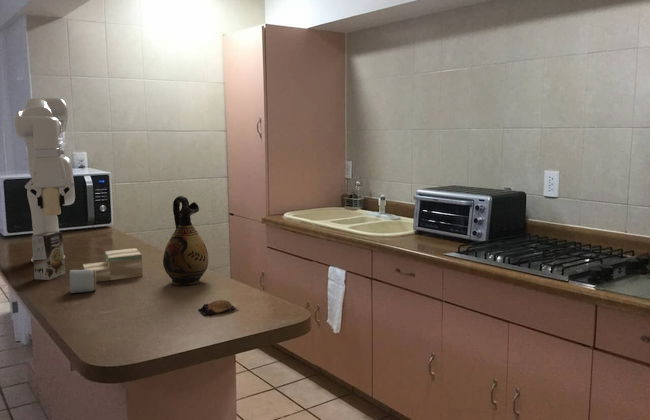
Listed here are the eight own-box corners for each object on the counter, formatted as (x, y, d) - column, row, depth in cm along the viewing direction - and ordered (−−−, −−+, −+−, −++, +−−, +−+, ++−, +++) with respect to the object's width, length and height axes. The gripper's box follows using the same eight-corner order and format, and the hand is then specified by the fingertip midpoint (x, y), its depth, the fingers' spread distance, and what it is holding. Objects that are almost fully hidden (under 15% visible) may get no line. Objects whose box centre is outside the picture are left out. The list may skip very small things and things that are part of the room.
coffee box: (49, 280, 204) (46, 235, 201) (34, 279, 205) (30, 235, 202) (66, 273, 212) (62, 231, 210) (51, 273, 214) (47, 230, 211)
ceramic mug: (97, 293, 187) (95, 270, 186) (70, 296, 184) (68, 272, 183) (96, 285, 197) (95, 263, 196) (70, 288, 194) (69, 266, 193)
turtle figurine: (229, 305, 174) (229, 294, 174) (240, 313, 167) (240, 300, 167) (195, 311, 169) (195, 299, 168) (205, 319, 161) (205, 307, 161)
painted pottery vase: (218, 281, 199) (215, 196, 195) (180, 291, 188) (175, 201, 184) (190, 273, 211) (186, 192, 206) (153, 282, 200) (148, 197, 195)
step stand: (83, 274, 211) (82, 253, 210) (137, 268, 219) (135, 248, 218) (86, 283, 199) (84, 260, 198) (142, 276, 207) (141, 254, 206)
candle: (47, 213, 196) (44, 184, 195) (63, 213, 197) (61, 184, 195) (40, 215, 191) (38, 186, 189) (57, 215, 191) (55, 186, 190)
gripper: (74, 152, 198) (78, 204, 201) (18, 154, 190) (23, 208, 193) (75, 153, 191) (79, 207, 194) (18, 155, 184) (23, 211, 186)
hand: (51, 207), depth 194 cm, fingers closed on candle, 5 cm apart
